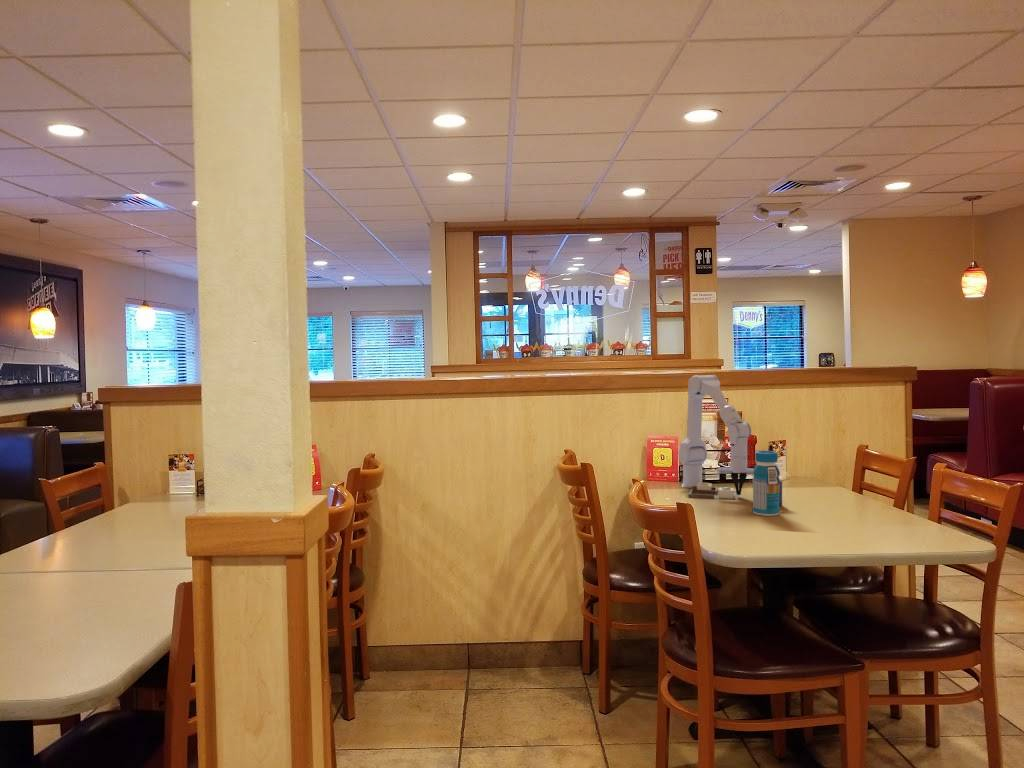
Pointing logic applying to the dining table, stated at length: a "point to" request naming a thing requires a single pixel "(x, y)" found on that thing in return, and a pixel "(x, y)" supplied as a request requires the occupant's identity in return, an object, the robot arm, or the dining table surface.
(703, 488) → the twin pot
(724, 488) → the pot
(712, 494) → the rack
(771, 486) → the beverage bottle
